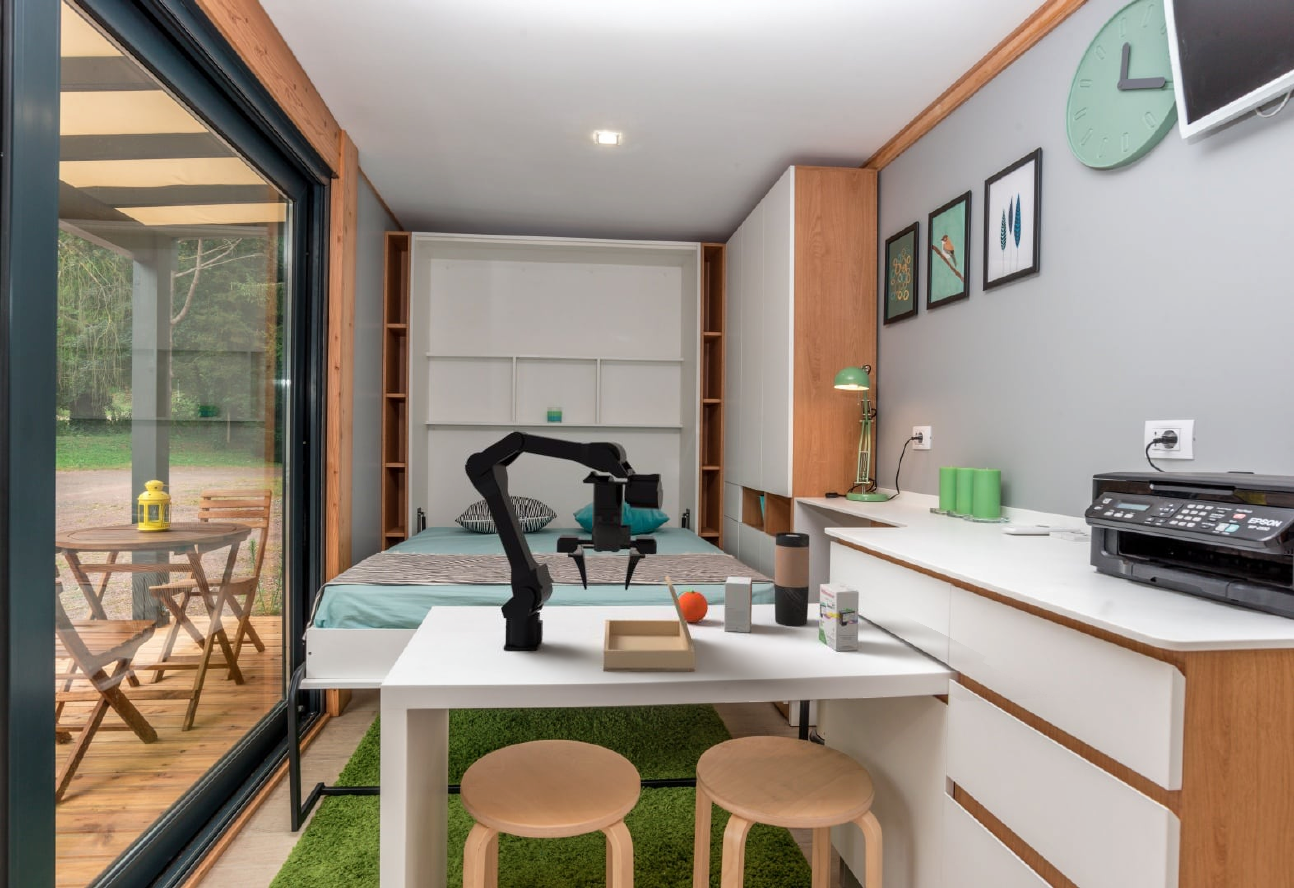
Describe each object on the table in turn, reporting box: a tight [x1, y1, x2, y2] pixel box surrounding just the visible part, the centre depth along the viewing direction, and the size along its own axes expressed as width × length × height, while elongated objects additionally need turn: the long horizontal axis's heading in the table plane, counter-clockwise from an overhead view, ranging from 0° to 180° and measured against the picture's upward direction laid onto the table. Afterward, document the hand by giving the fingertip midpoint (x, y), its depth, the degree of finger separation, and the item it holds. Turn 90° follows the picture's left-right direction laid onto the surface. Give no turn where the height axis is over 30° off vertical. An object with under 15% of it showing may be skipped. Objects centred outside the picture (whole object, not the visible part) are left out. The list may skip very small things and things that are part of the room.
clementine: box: [677, 590, 709, 623], centre depth 158 cm, size 8×7×7 cm
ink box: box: [818, 582, 860, 652], centre depth 141 cm, size 8×5×12 cm, turn 9°
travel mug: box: [774, 531, 810, 627], centre depth 159 cm, size 8×8×20 cm
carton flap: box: [664, 575, 694, 645], centre depth 134 cm, size 1×20×9 cm, turn 2°
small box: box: [723, 576, 753, 633], centre depth 153 cm, size 8×6×10 cm
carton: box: [602, 619, 696, 672], centre depth 134 cm, size 16×22×4 cm
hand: (605, 589), depth 133 cm, fingers open, 7 cm apart
